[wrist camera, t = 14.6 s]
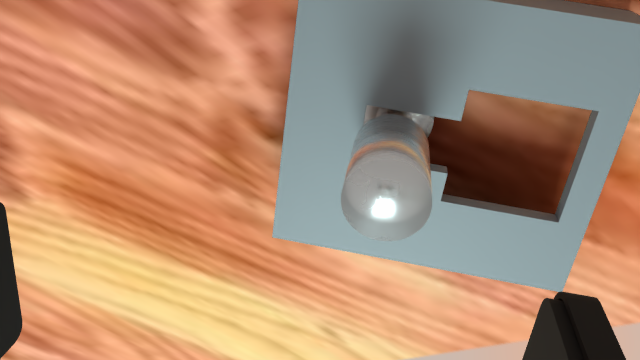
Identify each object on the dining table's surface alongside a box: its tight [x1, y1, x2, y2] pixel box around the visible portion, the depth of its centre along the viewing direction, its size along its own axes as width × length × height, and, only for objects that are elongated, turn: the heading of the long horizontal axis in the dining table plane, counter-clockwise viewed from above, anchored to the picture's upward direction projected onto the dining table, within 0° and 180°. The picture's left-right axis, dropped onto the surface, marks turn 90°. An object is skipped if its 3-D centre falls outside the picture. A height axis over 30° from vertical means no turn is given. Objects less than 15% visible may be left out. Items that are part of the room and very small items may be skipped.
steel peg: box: [341, 105, 434, 241], centre depth 32 cm, size 5×5×13 cm
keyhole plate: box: [272, 0, 640, 292], centre depth 35 cm, size 18×16×5 cm
